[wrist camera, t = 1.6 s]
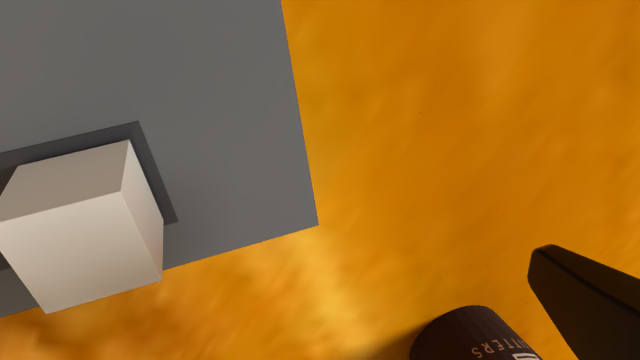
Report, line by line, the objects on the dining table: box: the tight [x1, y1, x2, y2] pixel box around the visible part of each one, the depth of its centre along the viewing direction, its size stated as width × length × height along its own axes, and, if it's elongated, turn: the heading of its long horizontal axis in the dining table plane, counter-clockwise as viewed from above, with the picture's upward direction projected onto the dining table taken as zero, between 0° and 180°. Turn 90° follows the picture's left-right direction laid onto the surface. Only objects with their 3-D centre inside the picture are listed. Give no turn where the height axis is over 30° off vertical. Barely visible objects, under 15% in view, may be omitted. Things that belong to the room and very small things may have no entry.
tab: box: [0, 140, 163, 314], centre depth 13 cm, size 3×3×3 cm
